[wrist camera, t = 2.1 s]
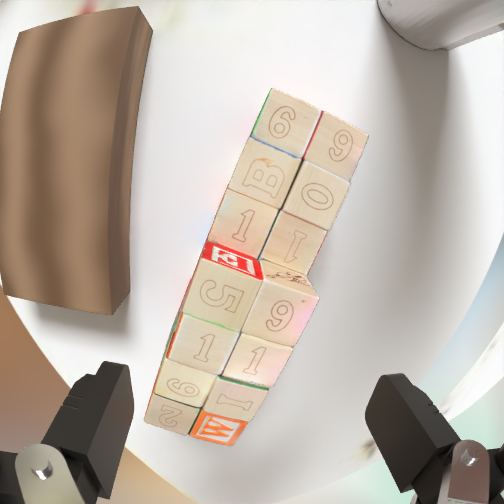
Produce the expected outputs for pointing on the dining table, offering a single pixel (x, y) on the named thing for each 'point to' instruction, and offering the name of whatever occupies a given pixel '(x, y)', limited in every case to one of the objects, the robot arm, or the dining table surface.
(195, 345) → the stack of blocks
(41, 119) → the walnut block
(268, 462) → the dining table surface
